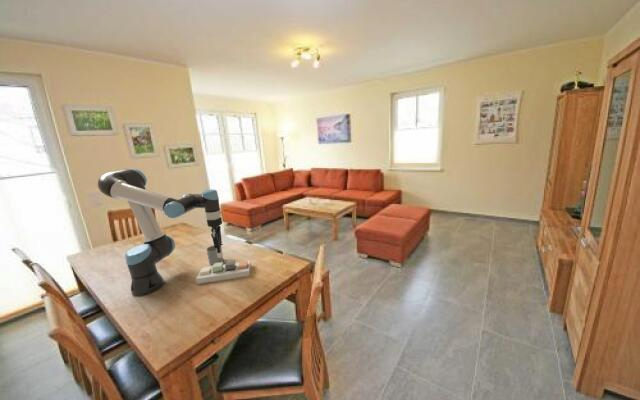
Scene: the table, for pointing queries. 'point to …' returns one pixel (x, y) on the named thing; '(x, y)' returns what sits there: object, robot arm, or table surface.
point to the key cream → (205, 271)
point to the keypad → (224, 274)
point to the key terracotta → (243, 265)
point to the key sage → (217, 267)
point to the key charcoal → (230, 265)
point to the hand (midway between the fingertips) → (220, 256)
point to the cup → (213, 255)
